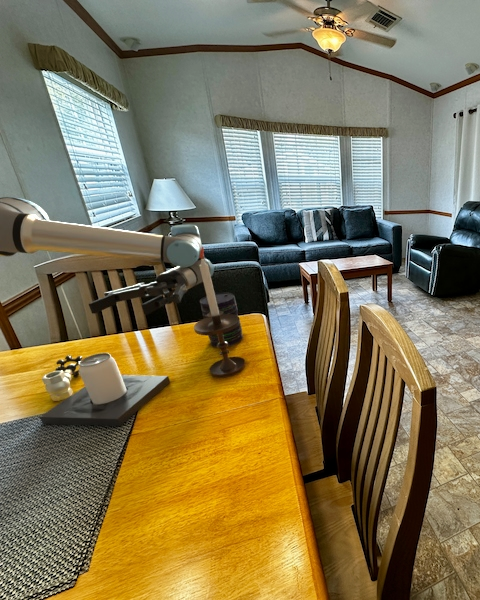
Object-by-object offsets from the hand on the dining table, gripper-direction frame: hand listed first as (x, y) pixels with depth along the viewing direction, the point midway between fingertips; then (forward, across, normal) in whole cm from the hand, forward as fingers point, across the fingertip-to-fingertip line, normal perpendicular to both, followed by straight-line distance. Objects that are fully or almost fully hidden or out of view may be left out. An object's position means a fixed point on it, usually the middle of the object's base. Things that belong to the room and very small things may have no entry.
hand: (117, 309), depth 81 cm
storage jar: (-21, -12, -20) cm, 32 cm away
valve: (+5, +16, -21) cm, 26 cm away
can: (+10, 0, -21) cm, 23 cm away
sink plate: (+10, 0, -20) cm, 23 cm away
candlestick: (-5, -21, -20) cm, 30 cm away
